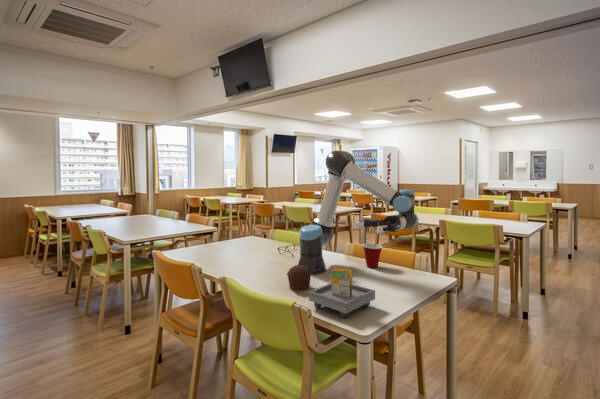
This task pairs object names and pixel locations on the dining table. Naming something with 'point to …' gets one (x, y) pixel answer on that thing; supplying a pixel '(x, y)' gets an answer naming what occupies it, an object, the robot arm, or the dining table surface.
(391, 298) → the dining table surface
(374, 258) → the plastic cup
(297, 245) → the eyeglasses
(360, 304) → the grey footed tray
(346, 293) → the crayon box
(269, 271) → the dining table surface
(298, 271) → the muffin
